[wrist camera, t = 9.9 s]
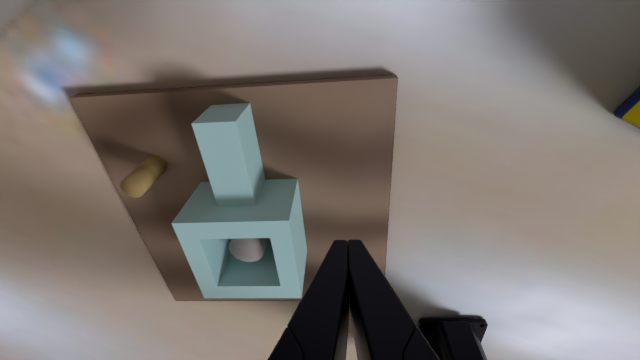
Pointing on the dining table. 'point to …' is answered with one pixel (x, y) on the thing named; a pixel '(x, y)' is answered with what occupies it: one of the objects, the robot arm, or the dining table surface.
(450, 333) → the robot arm
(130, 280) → the dining table surface
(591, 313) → the dining table surface
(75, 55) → the dining table surface
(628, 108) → the supplement box
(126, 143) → the board
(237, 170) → the collar
